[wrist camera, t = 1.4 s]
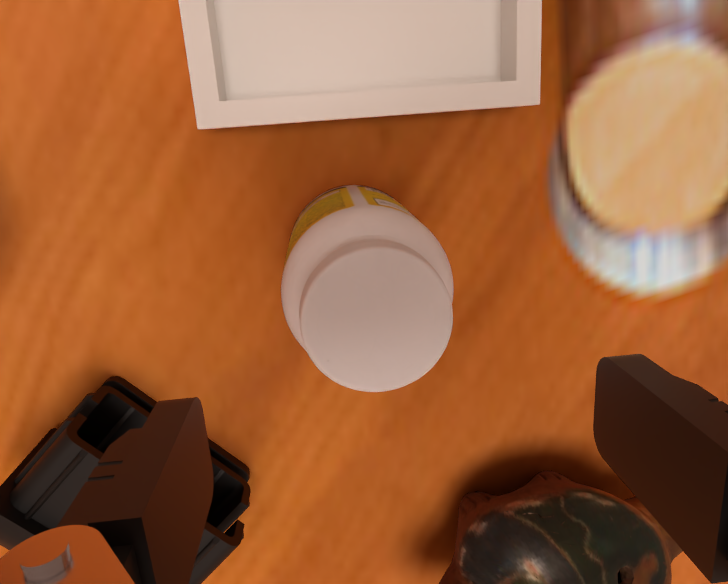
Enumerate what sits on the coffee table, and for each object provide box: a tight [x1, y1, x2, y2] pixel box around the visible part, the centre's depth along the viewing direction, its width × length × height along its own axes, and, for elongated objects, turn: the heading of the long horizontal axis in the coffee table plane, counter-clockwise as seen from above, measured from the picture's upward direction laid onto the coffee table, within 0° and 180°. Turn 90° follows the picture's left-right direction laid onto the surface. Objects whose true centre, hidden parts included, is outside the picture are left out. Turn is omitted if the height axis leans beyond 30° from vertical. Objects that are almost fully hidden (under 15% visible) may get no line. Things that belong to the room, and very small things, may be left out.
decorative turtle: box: [439, 471, 683, 584], centre depth 29 cm, size 10×15×8 cm, turn 111°
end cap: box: [0, 376, 250, 584], centre depth 27 cm, size 10×7×7 cm
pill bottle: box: [281, 185, 453, 392], centre depth 22 cm, size 6×6×11 cm
